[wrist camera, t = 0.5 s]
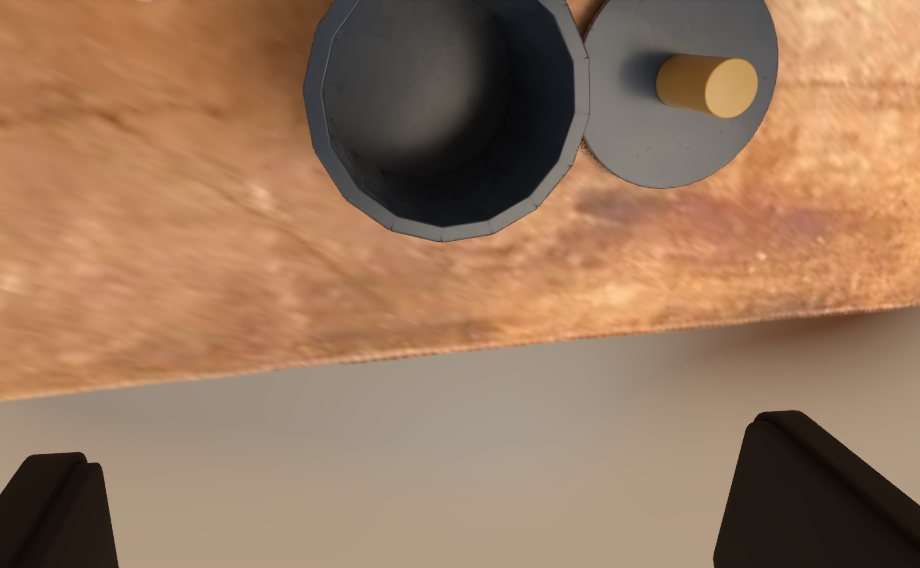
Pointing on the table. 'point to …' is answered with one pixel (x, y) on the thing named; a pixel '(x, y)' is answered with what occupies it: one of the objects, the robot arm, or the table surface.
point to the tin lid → (677, 86)
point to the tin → (447, 109)
